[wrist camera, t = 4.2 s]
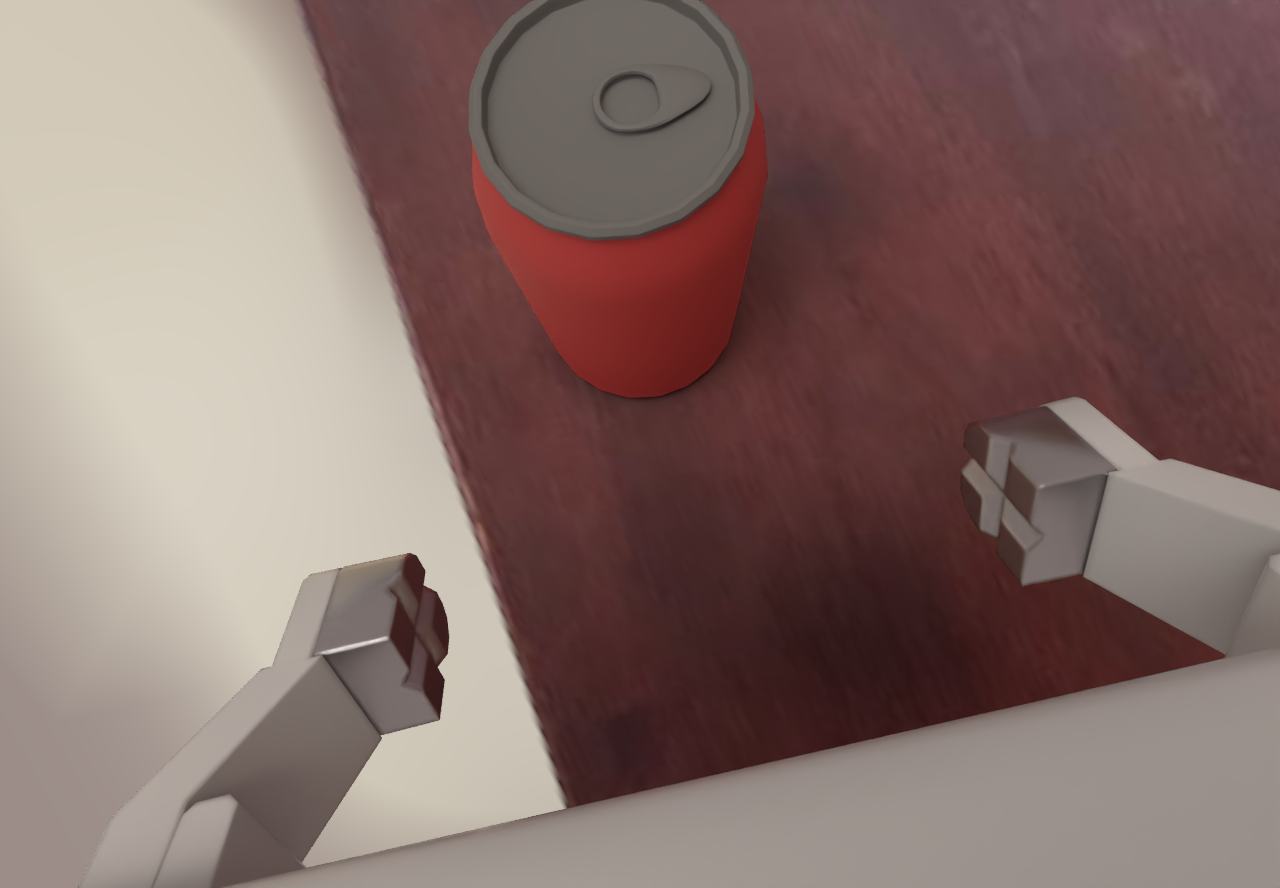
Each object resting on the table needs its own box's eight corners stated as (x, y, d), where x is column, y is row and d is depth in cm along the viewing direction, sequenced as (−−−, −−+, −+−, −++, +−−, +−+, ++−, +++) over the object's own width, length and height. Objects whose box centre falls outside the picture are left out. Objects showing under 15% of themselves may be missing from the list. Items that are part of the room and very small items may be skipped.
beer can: (753, 381, 25) (819, 220, 13) (567, 419, 25) (467, 293, 13) (713, 208, 26) (741, -85, 14) (535, 245, 26) (417, -14, 14)
